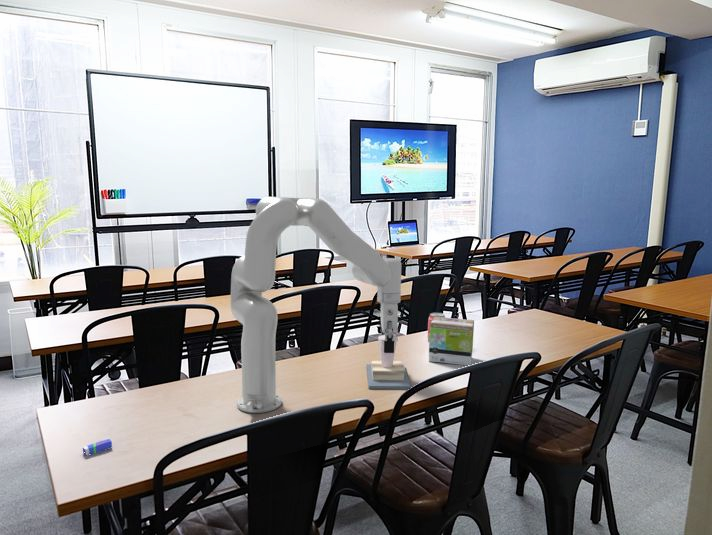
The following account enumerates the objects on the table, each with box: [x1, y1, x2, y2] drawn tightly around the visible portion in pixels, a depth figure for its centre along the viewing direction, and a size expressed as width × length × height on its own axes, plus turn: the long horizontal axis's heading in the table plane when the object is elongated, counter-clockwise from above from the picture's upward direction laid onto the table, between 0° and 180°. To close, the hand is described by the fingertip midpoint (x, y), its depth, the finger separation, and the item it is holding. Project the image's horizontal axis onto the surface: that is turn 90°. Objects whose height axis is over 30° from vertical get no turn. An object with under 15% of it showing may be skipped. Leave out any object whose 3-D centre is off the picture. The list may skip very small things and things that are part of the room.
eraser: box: [82, 438, 113, 457], centre depth 128 cm, size 2×6×2 cm, turn 132°
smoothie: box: [378, 334, 399, 368], centre depth 176 cm, size 6×6×14 cm
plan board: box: [365, 363, 411, 390], centre depth 178 cm, size 20×13×1 cm, turn 1°
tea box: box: [428, 317, 475, 367], centre depth 195 cm, size 15×10×15 cm, turn 74°
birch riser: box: [370, 360, 404, 380], centre depth 178 cm, size 10×10×3 cm
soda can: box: [427, 312, 446, 343], centre depth 215 cm, size 7×7×12 cm
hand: (387, 348), depth 176 cm, fingers open, 9 cm apart
